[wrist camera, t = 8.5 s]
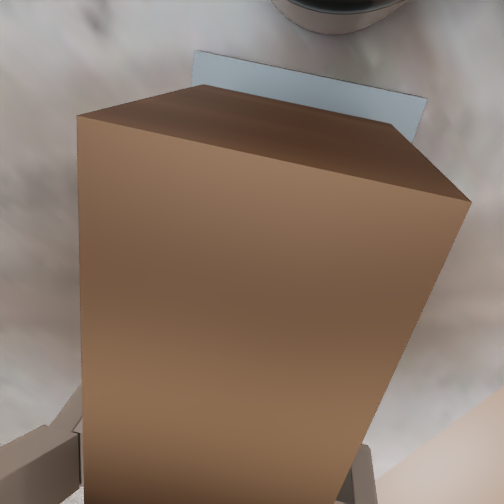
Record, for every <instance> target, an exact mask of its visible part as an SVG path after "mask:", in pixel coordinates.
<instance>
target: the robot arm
mask: <svg viewBox="0 0 504 504" xmlns="http://www.w3.org/2000/svg"><path fill="white" fill-rule="evenodd" d="M79 486H83V487H84V467H83V415H82V383H81V384H80V385H79V387H78V388H77V389H76V391H75V392H74V394H73V395H72V396H71V398H70V399H69V400H68V402H67V403H66V404H65V406H64V407H63V409H62V410H61V411H60V413H59V414H58V415H57V417H56V418H55V419H54V421H53V422H52V423H51V425H50V426H47V425H42V426H40V427H38V428H37V429H35V430H33V431H31V432H29V433H27V434H25V435H23V436H21V437H19V438H17V439H16V440H14V441H12V442H10V443H8V444H6V445H4V446H2V447H0V504H60V503H61V502H62V501H64V500H65V499H66V498H68V497H69V496H70V495H71V494H73V493H74V492H75V491H76V490H78V489H79ZM334 504H378V502H377V495H376V487H375V480H374V472H373V465H372V457H371V450H370V448H369V446H368V445H364V444H361V445H360V448H359V450H358V452H357V454H356V456H355V459H354V461H353V463H352V465H351V467H350V469H349V472H348V474H347V476H346V478H345V480H344V483H343V485H342V487H341V489H340V491H339V493H338V496H337V498H336V500H335V502H334Z"/></svg>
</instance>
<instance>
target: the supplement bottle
mask: <svg viewBox="0 0 504 504" xmlns="http://www.w3.org/2000/svg"><path fill="white" fill-rule="evenodd" d="M407 1H409V0H271V2H272V3H273V4H274V6H275V7H276V8H277V9H278V10H279V11H280V12H281V13H282V14H283V15H284V16H285V17H287V18H288V19H289V20H290V21H292V22H293V23H295V24H296V25H298V26H300V27H302V28H304V29H307V30H309V31H312V32H316V33H321V34H330V35H337V34H347V33H352V32H355V31H359V30H362V29H364V28H367V27H369V26H371V25H373V24H375V23H377V22H378V21H380V20H382V19H383V18H385V17H386V16H388V15H389V14H391V13H392V12H394V11H395V10H396V9H398V8H399V7H400V6H402V5H403V4H405V3H406V2H407Z"/></svg>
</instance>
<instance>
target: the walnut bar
mask: <svg viewBox="0 0 504 504" xmlns="http://www.w3.org/2000/svg"><path fill="white" fill-rule="evenodd" d="M77 155H78V207H79V259H80V311H81V363H82V415H83V467H84V504H334V502H335V500H336V498H337V496H338V493H339V491H340V489H341V487H342V485H343V483H344V480H345V478H346V476H347V474H348V472H349V469H350V467H351V465H352V463H353V461H354V459H355V456H356V454H357V452H358V450H359V448H360V445H361V443H362V441H363V439H364V437H365V435H366V432H367V430H368V428H369V426H370V424H371V421H372V419H373V417H374V415H375V413H376V411H377V408H378V406H379V404H380V402H381V400H382V397H383V395H384V393H385V391H386V389H387V387H388V384H389V382H390V380H391V378H392V376H393V373H394V371H395V369H396V367H397V365H398V363H399V360H400V358H401V356H402V354H403V352H404V349H405V347H406V345H407V343H408V341H409V339H410V336H411V334H412V332H413V330H414V328H415V325H416V323H417V321H418V319H419V317H420V315H421V312H422V310H423V308H424V306H425V304H426V301H427V299H428V297H429V295H430V293H431V291H432V288H433V286H434V284H435V282H436V280H437V277H438V275H439V273H440V271H441V269H442V267H443V264H444V262H445V260H446V258H447V256H448V253H449V251H450V249H451V247H452V245H453V243H454V240H455V238H456V236H457V234H458V232H459V230H460V227H461V225H462V223H463V221H464V219H465V216H466V214H467V212H468V210H469V208H470V206H471V203H472V202H471V201H470V200H469V199H468V198H467V197H466V196H465V195H464V194H463V193H462V192H461V191H460V190H459V189H458V188H457V187H456V186H455V185H454V184H453V183H452V182H451V181H450V180H449V179H448V178H446V177H445V176H444V175H443V174H442V173H441V172H440V171H439V170H438V169H437V168H436V167H435V166H434V165H433V164H432V163H431V162H430V161H429V160H428V159H427V158H426V157H425V156H424V155H423V154H422V153H421V152H420V151H419V150H418V149H417V148H415V147H414V146H413V145H412V144H411V143H410V142H409V141H408V140H407V139H406V138H405V137H404V136H403V135H402V134H401V133H400V132H399V131H398V130H397V129H396V128H395V127H394V126H393V125H392V124H390V123H385V122H381V121H376V120H371V119H366V118H362V117H357V116H352V115H348V114H343V113H338V112H333V111H329V110H324V109H319V108H314V107H310V106H305V105H300V104H295V103H291V102H286V101H281V100H276V99H272V98H267V97H262V96H257V95H253V94H248V93H243V92H238V91H234V90H229V89H224V88H220V87H215V86H210V85H205V84H202V85H198V86H194V87H190V88H186V89H182V90H178V91H174V92H170V93H166V94H162V95H157V96H153V97H149V98H145V99H141V100H137V101H133V102H129V103H125V104H121V105H117V106H113V107H109V108H105V109H101V110H97V111H93V112H89V113H85V114H81V115H77Z"/></svg>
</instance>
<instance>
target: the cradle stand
mask: <svg viewBox="0 0 504 504" xmlns="http://www.w3.org/2000/svg"><path fill="white" fill-rule="evenodd" d="M202 84H205V85H210V86H215V87H220V88H224V89H229V90H234V91H238V92H243V93H248V94H253V95H257V96H262V97H267V98H272V99H276V100H281V101H286V102H291V103H295V104H300V105H305V106H310V107H314V108H319V109H324V110H329V111H333V112H338V113H343V114H348V115H352V116H357V117H362V118H366V119H371V120H376V121H381V122H385V123H390V124H392V125H393V126H394V127H395V128H396V129H397V130H398V131H399V132H400V133H401V134H402V135H403V136H404V137H405V138H406V139H407V140H408V141H409V142H410V143H411V144H412V141H413V139H414V136H415V133H416V130H417V128H418V125H419V122H420V119H421V116H422V114H423V111H424V108H425V105H426V103H427V100H428V99H426V98H423V97H420V96H415V95H410V94H405V93H400V92H396V91H391V90H386V89H381V88H376V87H372V86H367V85H362V84H357V83H353V82H348V81H343V80H338V79H333V78H329V77H324V76H319V75H314V74H309V73H305V72H300V71H295V70H290V69H285V68H281V67H276V66H271V65H266V64H261V63H257V62H252V61H247V60H242V59H237V58H233V57H228V56H223V55H218V54H213V53H209V52H204V51H196V50H194V59H193V68H192V77H191V87H194V86H198V85H202Z"/></svg>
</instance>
